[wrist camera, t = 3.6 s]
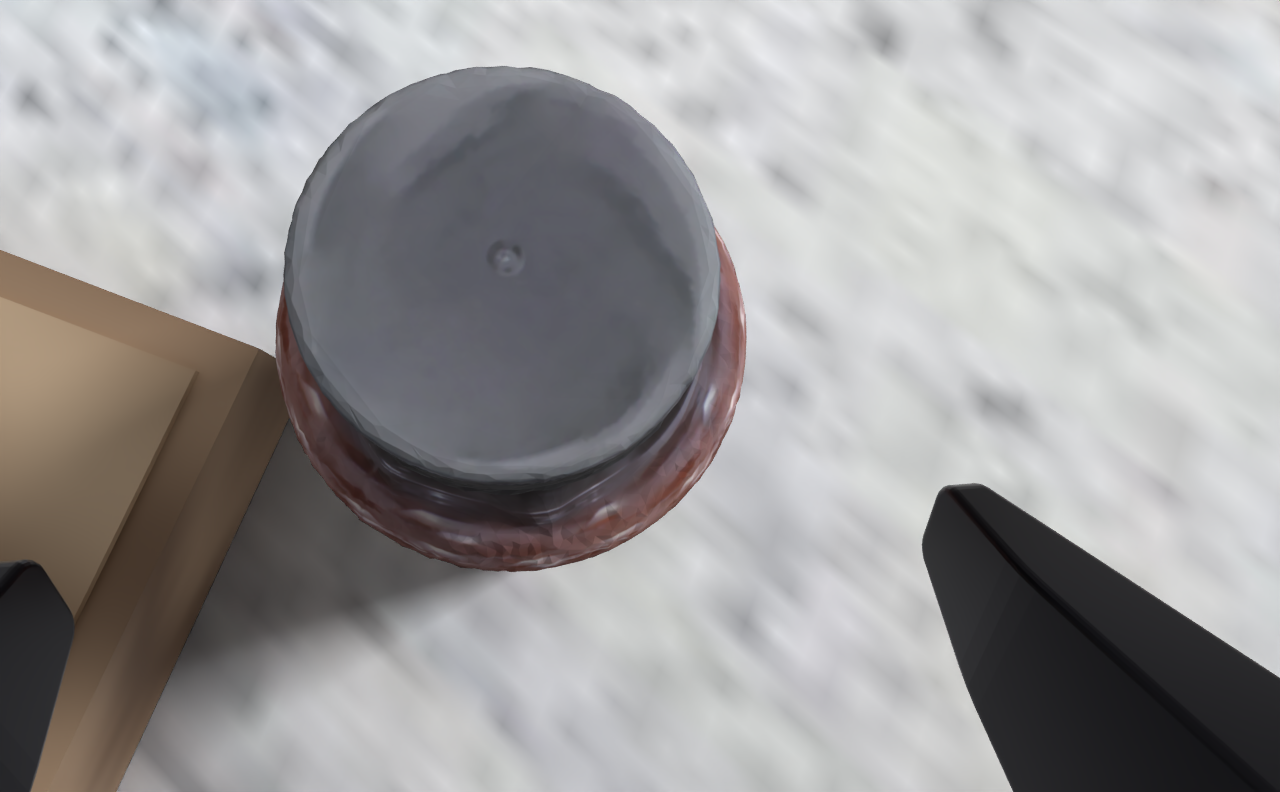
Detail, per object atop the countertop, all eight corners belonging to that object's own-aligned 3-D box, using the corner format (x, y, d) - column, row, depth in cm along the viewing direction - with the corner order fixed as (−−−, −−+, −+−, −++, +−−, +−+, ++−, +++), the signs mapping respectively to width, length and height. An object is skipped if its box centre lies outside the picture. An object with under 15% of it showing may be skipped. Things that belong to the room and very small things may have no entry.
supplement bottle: (348, 464, 18) (-9, 371, 6) (487, 245, 19) (389, -158, 8) (581, 595, 18) (627, 729, 7) (705, 370, 19) (926, 155, 8)
